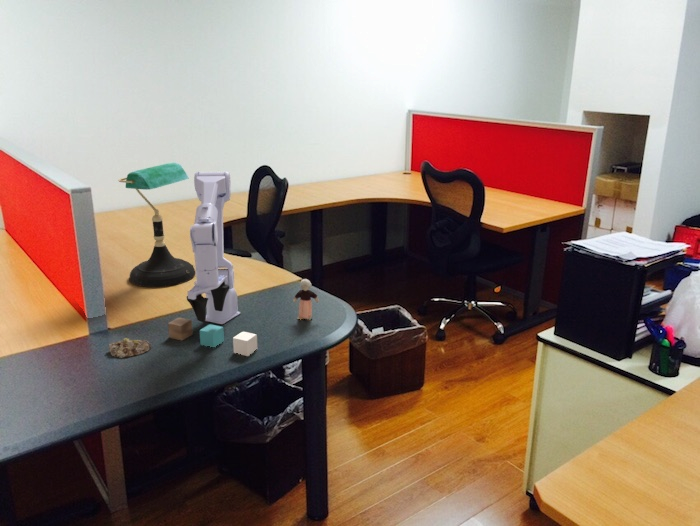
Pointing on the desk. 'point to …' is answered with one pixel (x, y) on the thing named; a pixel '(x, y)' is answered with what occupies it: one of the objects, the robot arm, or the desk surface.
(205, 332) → the teal block
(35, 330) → the desk surface
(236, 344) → the white block
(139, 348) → the mineral rock
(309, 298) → the grandmother figurine
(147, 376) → the desk surface
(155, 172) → the banker's lamp
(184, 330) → the walnut block
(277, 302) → the desk surface
